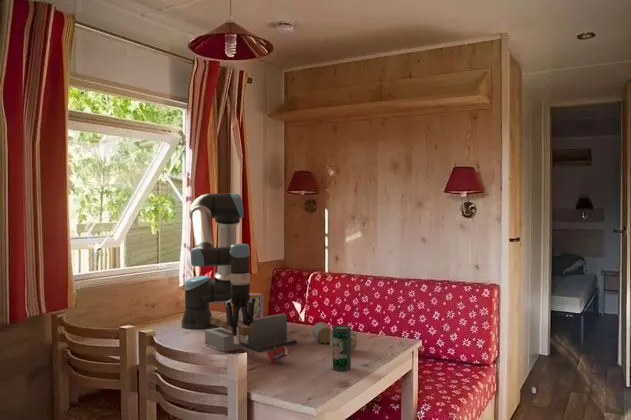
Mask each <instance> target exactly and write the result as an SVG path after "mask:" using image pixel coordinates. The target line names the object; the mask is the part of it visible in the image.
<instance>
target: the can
mask: <svg viewBox="0 0 631 420" xmlns="http://www.w3.org/2000/svg"><path fill="white" fill-rule="evenodd" d="M351 329H352V328H351V326H350V325H347V324H345V325H344V324H336V325H334V326H332V330H333V349H332V369H333V371H336V372H348V371H350V370H351V368H352V367H351V365H352V364H351V362H352V361H351V359H352V358H351V353H352V352H351V331H352V330H351Z"/></svg>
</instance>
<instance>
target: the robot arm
mask: <svg viewBox="0 0 631 420" xmlns="http://www.w3.org/2000/svg"><path fill="white" fill-rule="evenodd" d="M188 212H189V219H190V221H192V230H193V231H192V233H193V241H194V243H193V244H194V247H193V248H191V249H190V264H191V266H192V267H199V268H202V267H204V268H205V267H217V272H216V273H215V274H214V277H213V278H210V276H209V275H199V276H194V277H190V278H188V279H186V280H185V282H184V312H183V315H182V319H181V321H180V323H181V324H180V325H181V326H180V327H182V328H183V329H191V330H192V329H194V330H195V329H206V328H210V327H213V326H214V325H213V324H210V316H213V315H212V311H211V309H210V305H211V304H215V303H216V304H217V303H224V306H225V312H226V313H225V314H226V319H227V325H228V326H230V327H232V335H233V336H234V343H235V344H237V345H238V344H239V328H238V327H237V324H238V316H239V310H240V307H241V310H242V317H243V324H244V325H246V326H250V323H253V314H254V304H255V301H256V299H255V298H251V297H250V295H249V293H251V287H250V286H251V284H250V281H251V279H250V275H251V274H250V273H251V271H250V270H251V269H250V264H251V263H250V257H251V256H250V255H251V251H250V250H251V249H250V245H249V244H248V243H237V230H238V229H237V226H238V224H240V222H241V219H243V218H244V204H243V199H242V197H241V195H240V194H239V193H233V192H229V193H227V192H226V193H225V192H224V193H221V192H220V193H218V192H217V193H215V192H214V193H210V192H209V193H204V194H202V195H199V197H197V198H196V199H195V200H193V202H192V203H191V206H190V207H189V211H188ZM211 219H215V220H214V221H215V223H216V224H217V226H218V228H217V231H218V232H217V247H216V246H215V247H214V242H213V235H212V228H211V221H210V220H211ZM248 302H249V303H248ZM247 303H248V306H247ZM247 308H248V311H247ZM247 340H248V335H246V336H243V335H241V341H242V342H245V343H247Z"/></svg>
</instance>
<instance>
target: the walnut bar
mask: <svg viewBox="0 0 631 420" xmlns="http://www.w3.org/2000/svg"><path fill="white" fill-rule="evenodd" d="M210 324H213V325H212V326H216V327H217V328H220V327H221V328H224V329H226V330H229V331H232V327H230V326H228V325H227V317H222V316H219V315H212V316H210ZM237 327H238V328H239V334H240V335H241V336H242V335H243V336H246V335H247V336H248V335H251V327H249V326H246V325H243V324H240V323H238V324H237Z"/></svg>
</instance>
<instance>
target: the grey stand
mask: <svg viewBox="0 0 631 420" xmlns="http://www.w3.org/2000/svg"><path fill="white" fill-rule="evenodd" d="M241 341H242V335H240V334H239V344H238V345H237V344H235V343H234V336H233V335H232V331H229V330H226V329H224V328H221V327H216V328H215V327H214V328H210V329H205V330H204V345H205V344H208V345H211V346H213V347H216V348H218V349H220V350H223V351H227V352H229V351H228V350H231V351H234V350H235V351H236V350H240V349H242V346H241ZM208 345H207V346H208ZM213 347H212V348H213ZM220 350H219V351H220Z"/></svg>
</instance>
